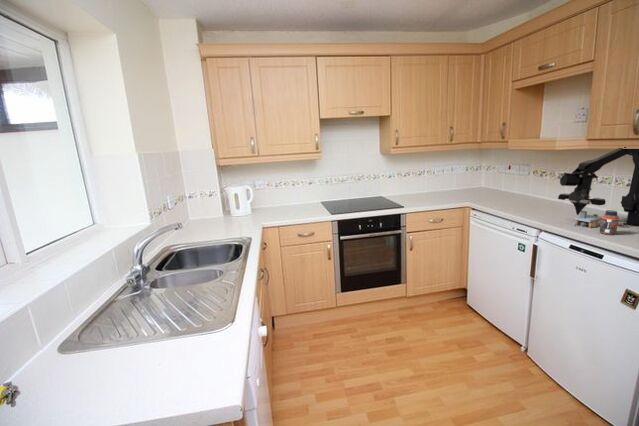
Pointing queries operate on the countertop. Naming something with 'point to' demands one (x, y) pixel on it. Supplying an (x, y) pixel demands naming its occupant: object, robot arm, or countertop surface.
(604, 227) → the supplement bottle
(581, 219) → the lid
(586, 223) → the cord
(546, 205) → the countertop surface
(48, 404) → the countertop surface
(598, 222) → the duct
